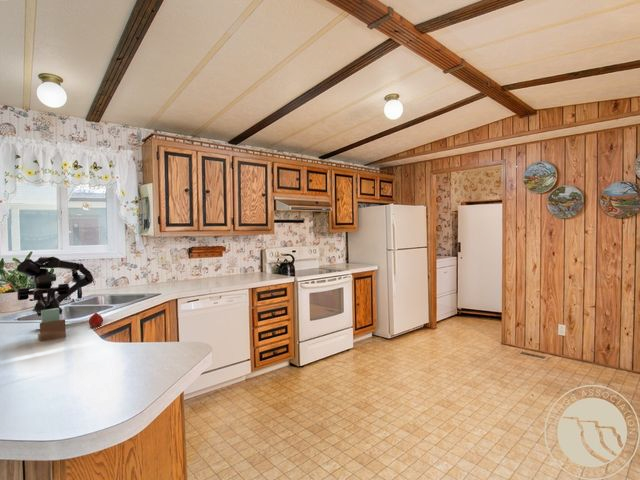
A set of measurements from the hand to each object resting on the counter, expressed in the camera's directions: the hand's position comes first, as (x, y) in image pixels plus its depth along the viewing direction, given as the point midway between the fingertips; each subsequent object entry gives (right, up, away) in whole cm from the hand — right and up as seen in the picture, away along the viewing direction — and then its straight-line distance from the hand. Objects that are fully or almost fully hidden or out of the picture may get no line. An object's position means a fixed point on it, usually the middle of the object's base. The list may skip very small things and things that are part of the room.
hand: (46, 305), depth 157 cm
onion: (+16, -13, +10) cm, 23 cm away
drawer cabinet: (+6, -14, -5) cm, 16 cm away
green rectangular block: (+7, -12, -6) cm, 15 cm away
